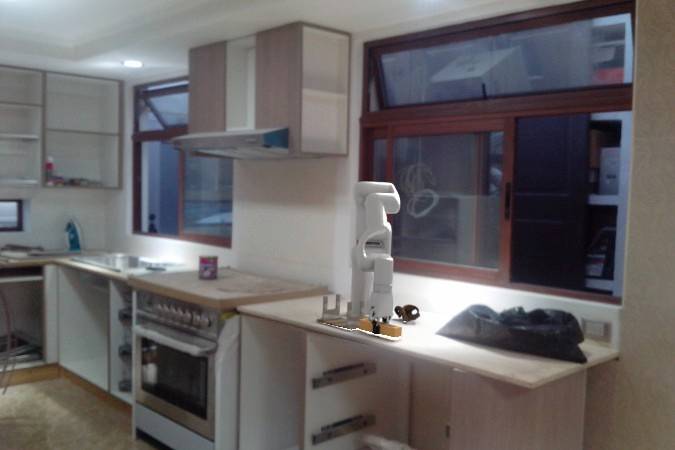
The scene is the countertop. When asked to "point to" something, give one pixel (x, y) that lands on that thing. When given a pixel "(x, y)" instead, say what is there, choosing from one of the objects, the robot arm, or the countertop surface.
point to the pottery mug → (407, 312)
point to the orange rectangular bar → (381, 328)
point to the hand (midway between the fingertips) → (379, 333)
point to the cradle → (333, 314)
